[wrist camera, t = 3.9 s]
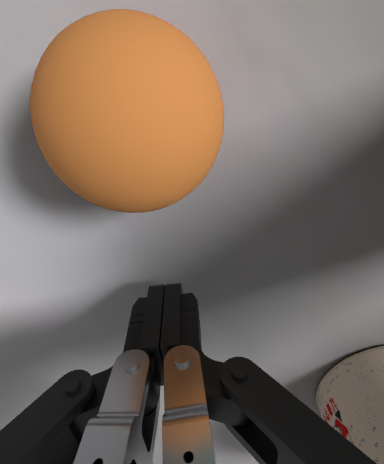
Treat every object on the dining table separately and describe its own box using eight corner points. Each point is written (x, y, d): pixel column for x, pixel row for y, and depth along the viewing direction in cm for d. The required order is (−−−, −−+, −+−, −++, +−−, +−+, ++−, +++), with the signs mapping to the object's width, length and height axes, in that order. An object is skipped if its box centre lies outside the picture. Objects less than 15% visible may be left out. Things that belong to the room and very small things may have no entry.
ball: (211, 16, 10) (237, -28, 5) (217, 173, 13) (237, 238, 8) (50, 30, 10) (-70, 0, 5) (90, 183, 13) (35, 254, 8)
